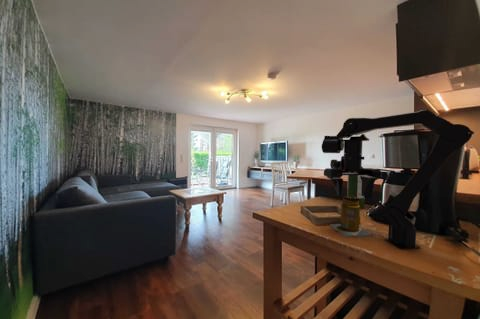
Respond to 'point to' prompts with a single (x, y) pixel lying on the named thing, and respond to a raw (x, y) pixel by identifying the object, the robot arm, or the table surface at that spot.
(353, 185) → the wine bottle
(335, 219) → the wooden tray
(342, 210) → the condiment
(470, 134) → the robot arm
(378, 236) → the table surface
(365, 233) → the rubber mat
